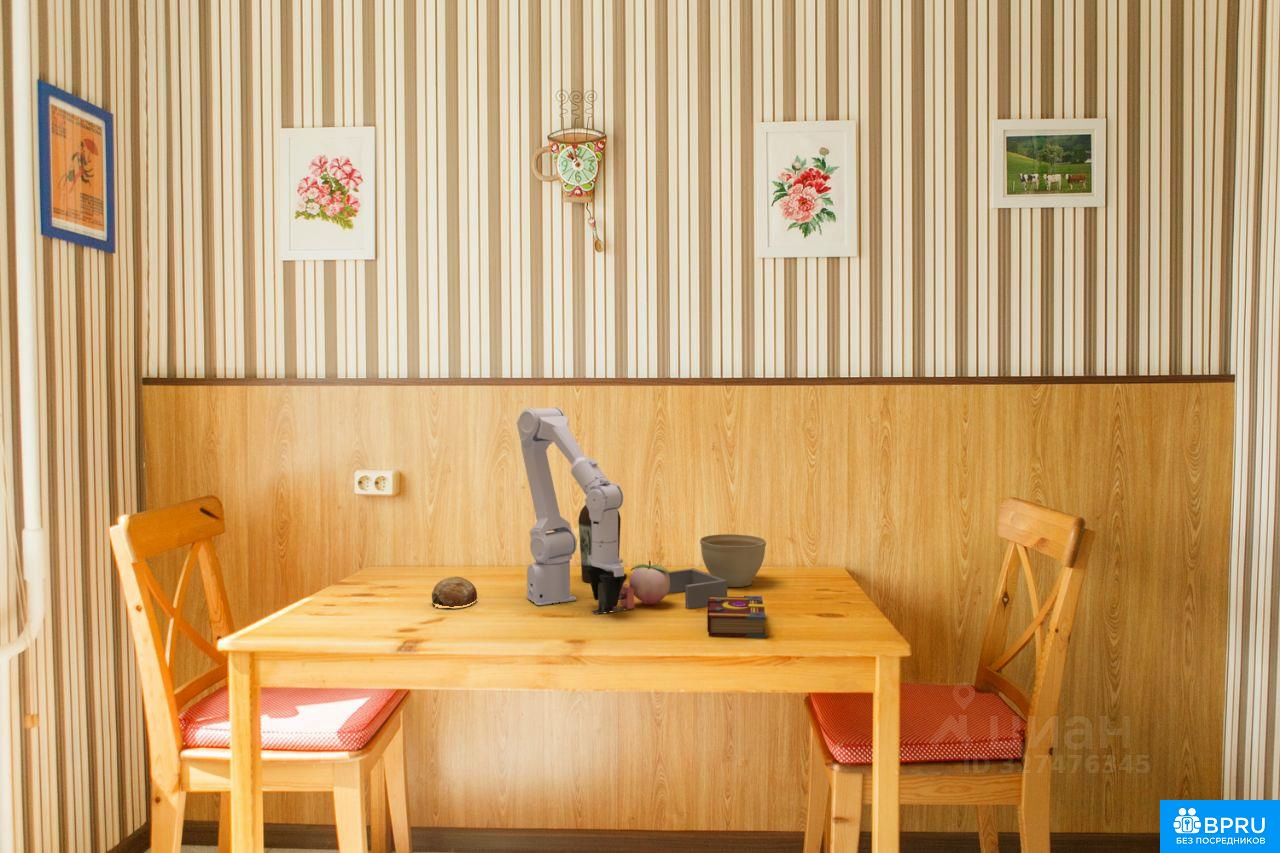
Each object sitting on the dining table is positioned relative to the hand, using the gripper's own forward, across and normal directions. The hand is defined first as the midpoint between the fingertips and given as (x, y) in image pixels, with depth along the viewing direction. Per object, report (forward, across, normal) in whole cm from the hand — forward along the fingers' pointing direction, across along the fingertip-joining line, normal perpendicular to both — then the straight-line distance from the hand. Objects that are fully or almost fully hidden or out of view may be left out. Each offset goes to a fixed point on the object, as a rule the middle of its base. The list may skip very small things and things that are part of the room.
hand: (605, 602), depth 168 cm
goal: (+2, 0, -21) cm, 21 cm away
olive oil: (+2, +27, -11) cm, 29 cm away
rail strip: (+2, 0, -2) cm, 2 cm away
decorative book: (+2, -22, -19) cm, 29 cm away
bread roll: (+2, +23, +27) cm, 36 cm away
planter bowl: (+2, +7, -38) cm, 39 cm away
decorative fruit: (+2, 0, -11) cm, 11 cm away
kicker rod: (+1, 0, -2) cm, 3 cm away
